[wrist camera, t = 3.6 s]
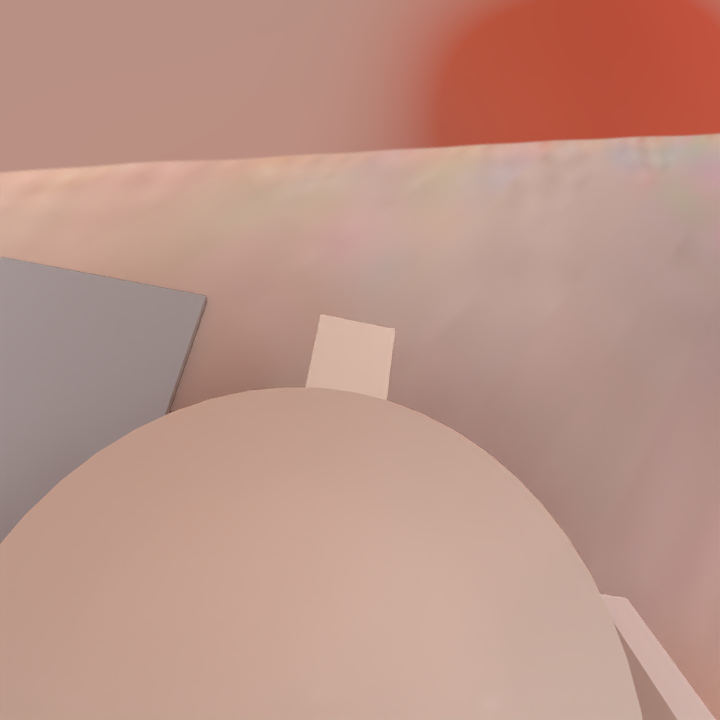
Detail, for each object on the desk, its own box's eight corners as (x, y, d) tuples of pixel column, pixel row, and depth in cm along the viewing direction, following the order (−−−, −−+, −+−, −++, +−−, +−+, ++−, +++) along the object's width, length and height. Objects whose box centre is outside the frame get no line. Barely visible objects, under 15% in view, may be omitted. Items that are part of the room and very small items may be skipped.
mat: (207, 301, 24) (206, 295, 24) (107, 591, 18) (104, 589, 18) (-74, 248, 23) (-79, 241, 23) (-278, 531, 17) (-289, 528, 17)
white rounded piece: (415, 503, 19) (597, 293, 9) (385, 870, 14) (722, 1405, 4) (212, 467, 18) (147, 200, 8) (107, 832, 14) (-387, 1315, 3)
